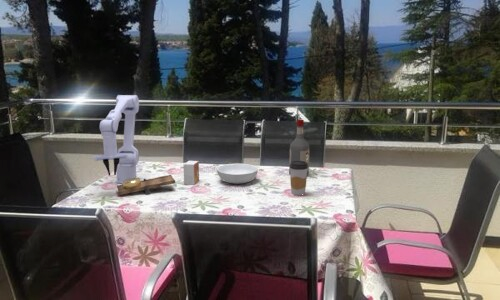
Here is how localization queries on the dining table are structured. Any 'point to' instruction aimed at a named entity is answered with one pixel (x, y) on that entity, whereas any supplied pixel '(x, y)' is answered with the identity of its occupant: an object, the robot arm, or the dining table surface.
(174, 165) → the dining table surface
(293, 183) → the coffee cup
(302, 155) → the liquor
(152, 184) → the beam
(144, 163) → the dining table surface
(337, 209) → the dining table surface
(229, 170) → the serving bowl
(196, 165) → the small box
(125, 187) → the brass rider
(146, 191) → the beam stand
